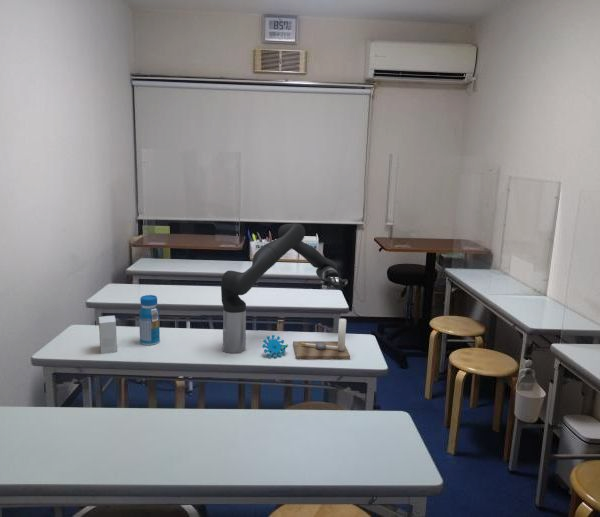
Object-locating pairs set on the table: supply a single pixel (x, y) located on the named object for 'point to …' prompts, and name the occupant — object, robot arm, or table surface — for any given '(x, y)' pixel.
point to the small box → (107, 334)
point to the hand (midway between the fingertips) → (337, 286)
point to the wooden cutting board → (318, 351)
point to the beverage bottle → (149, 320)
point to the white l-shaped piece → (340, 339)
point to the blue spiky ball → (274, 346)
